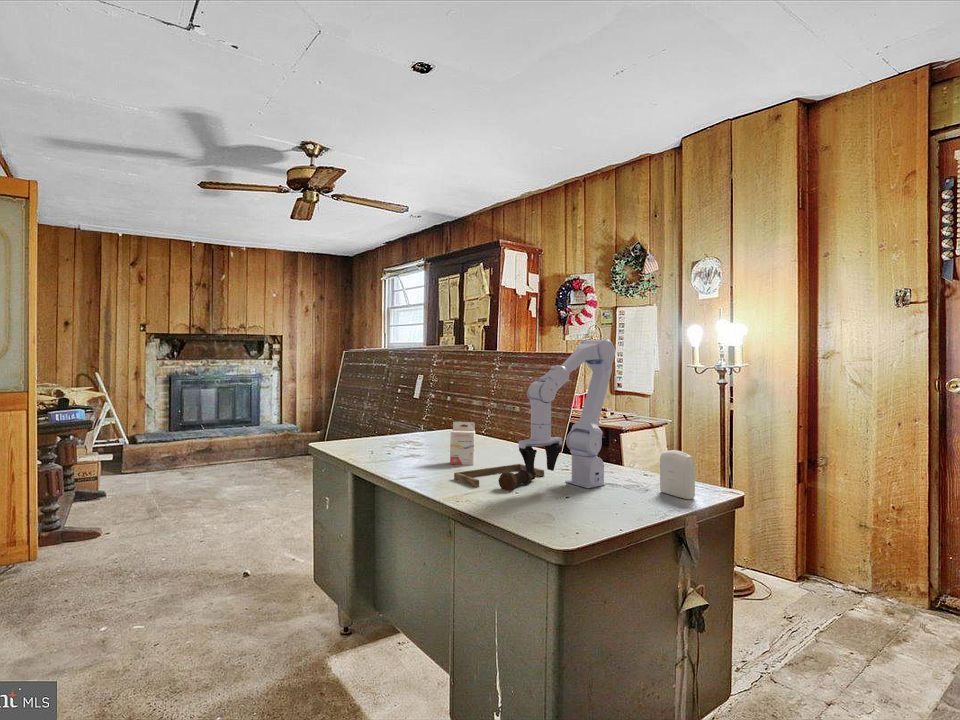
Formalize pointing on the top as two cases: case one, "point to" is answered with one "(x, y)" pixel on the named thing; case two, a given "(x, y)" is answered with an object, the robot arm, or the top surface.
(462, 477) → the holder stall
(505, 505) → the top surface
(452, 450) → the ink cartridge box
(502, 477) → the bolt
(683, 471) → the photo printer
